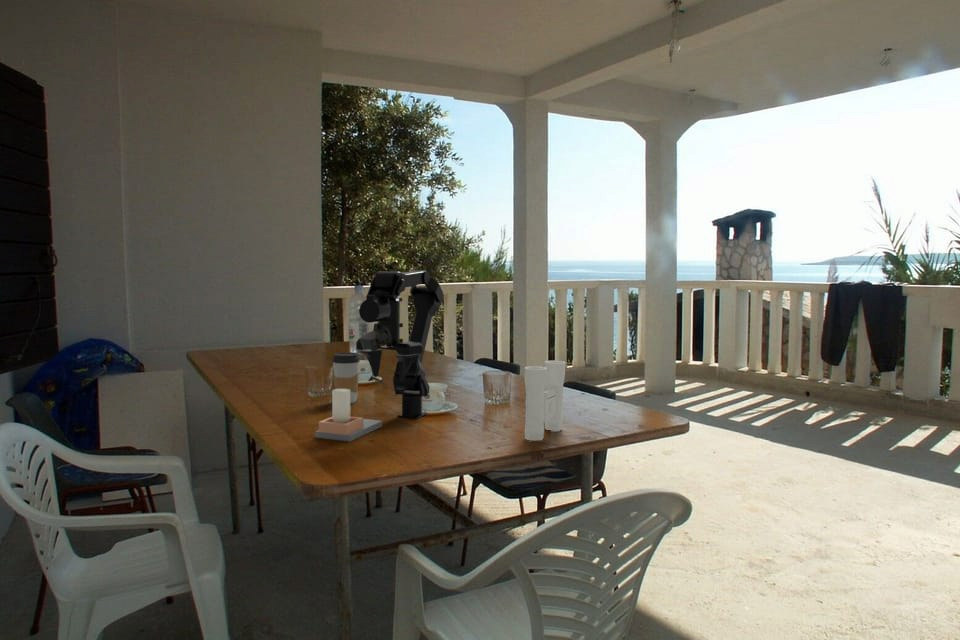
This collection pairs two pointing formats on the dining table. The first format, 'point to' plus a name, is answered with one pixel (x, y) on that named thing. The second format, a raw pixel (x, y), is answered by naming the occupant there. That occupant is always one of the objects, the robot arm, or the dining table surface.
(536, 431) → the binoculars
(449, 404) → the dining table surface
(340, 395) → the candle
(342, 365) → the coffee cup
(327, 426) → the candle stand
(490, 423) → the dining table surface
